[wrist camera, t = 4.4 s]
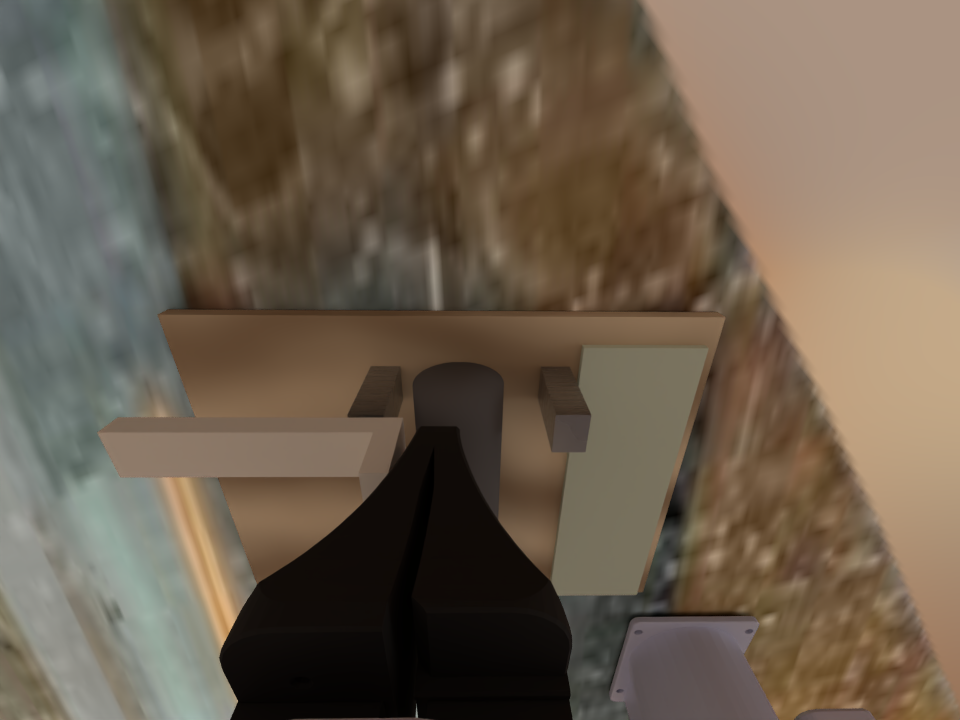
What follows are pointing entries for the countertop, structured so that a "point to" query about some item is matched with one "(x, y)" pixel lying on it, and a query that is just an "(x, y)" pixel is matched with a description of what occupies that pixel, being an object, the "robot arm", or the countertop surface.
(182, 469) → the beige l-shaped block
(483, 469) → the dark grey rod
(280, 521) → the board
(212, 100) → the countertop surface
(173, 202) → the countertop surface
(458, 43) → the countertop surface
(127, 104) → the countertop surface
